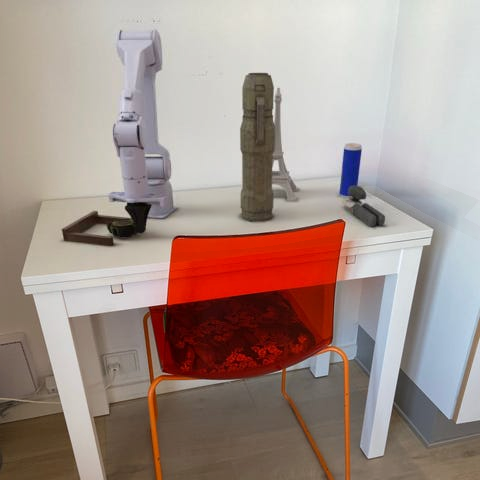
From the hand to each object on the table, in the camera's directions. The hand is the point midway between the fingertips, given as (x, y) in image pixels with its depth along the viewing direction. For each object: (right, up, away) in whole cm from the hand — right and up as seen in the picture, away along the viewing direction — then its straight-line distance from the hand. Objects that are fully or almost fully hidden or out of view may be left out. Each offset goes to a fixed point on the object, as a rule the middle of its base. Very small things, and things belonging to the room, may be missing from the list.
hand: (141, 231), depth 116 cm
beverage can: (+58, +16, +29) cm, 67 cm away
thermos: (+29, +7, +13) cm, 33 cm away
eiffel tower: (+35, +18, +31) cm, 50 cm away
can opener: (+58, +7, +13) cm, 60 cm away
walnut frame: (-10, 0, +3) cm, 11 cm away
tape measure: (-5, -1, +2) cm, 6 cm away
